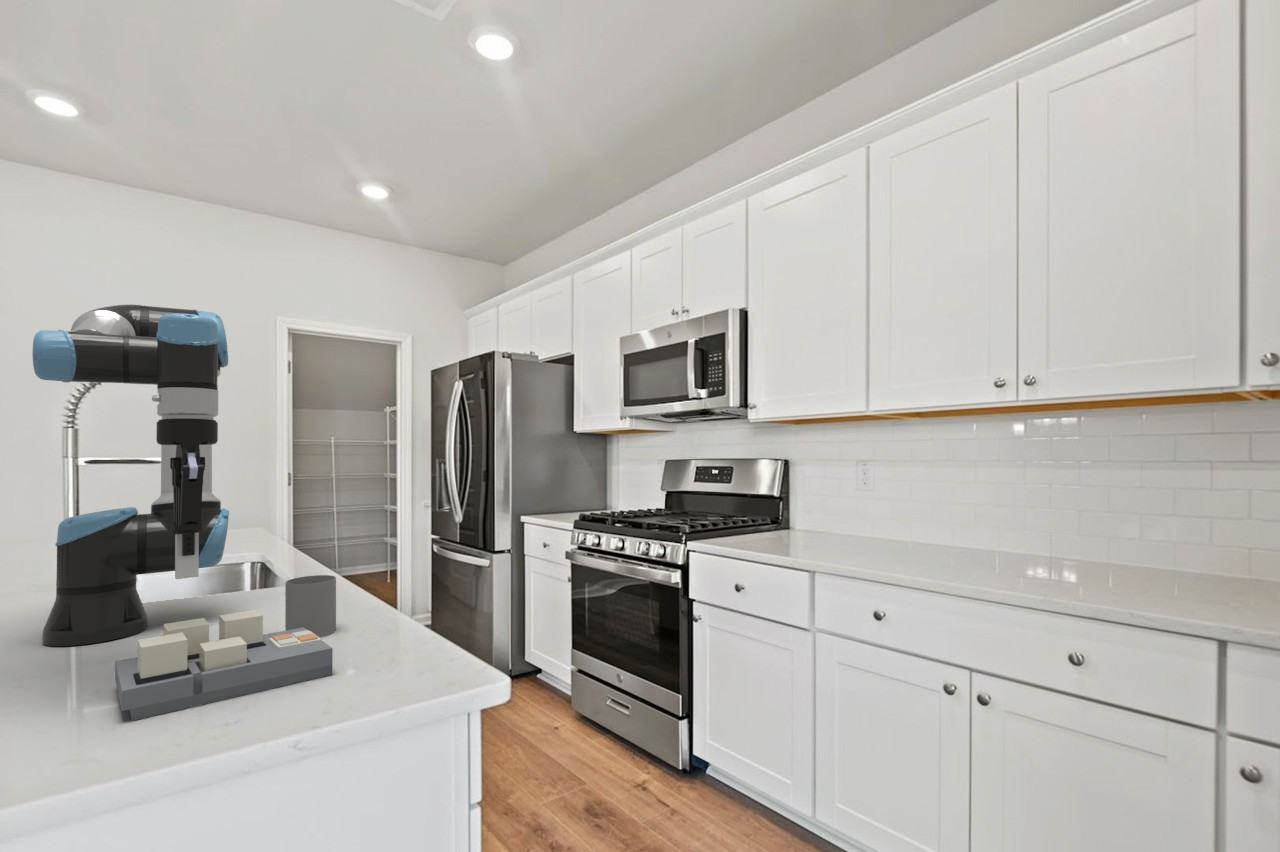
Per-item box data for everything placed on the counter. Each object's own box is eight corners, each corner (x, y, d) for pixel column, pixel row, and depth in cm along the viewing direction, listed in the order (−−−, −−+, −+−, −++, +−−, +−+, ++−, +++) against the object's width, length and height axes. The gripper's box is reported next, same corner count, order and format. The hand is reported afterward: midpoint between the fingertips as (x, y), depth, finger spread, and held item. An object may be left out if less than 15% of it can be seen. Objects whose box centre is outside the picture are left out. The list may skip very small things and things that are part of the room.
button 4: (219, 641, 101) (219, 615, 101) (255, 634, 104) (255, 609, 104) (224, 648, 97) (225, 621, 97) (262, 641, 100) (262, 615, 101)
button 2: (163, 651, 96) (163, 624, 96) (203, 644, 100) (203, 617, 100) (167, 659, 93) (167, 630, 93) (208, 651, 96) (209, 624, 96)
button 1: (137, 669, 88) (137, 639, 88) (182, 660, 92) (182, 632, 92) (140, 678, 85) (141, 647, 85) (187, 669, 88) (187, 639, 88)
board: (114, 689, 94) (115, 656, 94) (303, 651, 110) (303, 623, 110) (121, 723, 82) (122, 685, 82) (332, 674, 98) (332, 643, 98)
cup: (314, 641, 116) (314, 584, 117) (275, 639, 118) (275, 583, 118) (345, 628, 125) (345, 575, 125) (307, 626, 126) (307, 574, 126)
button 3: (199, 671, 93) (199, 643, 93) (239, 663, 96) (239, 636, 96) (204, 680, 89) (204, 651, 89) (246, 672, 92) (246, 643, 93)
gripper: (152, 420, 100) (151, 575, 99) (161, 415, 90) (160, 587, 89) (210, 421, 105) (209, 568, 104) (225, 416, 95) (224, 579, 94)
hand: (186, 577), depth 96 cm, fingers closed
